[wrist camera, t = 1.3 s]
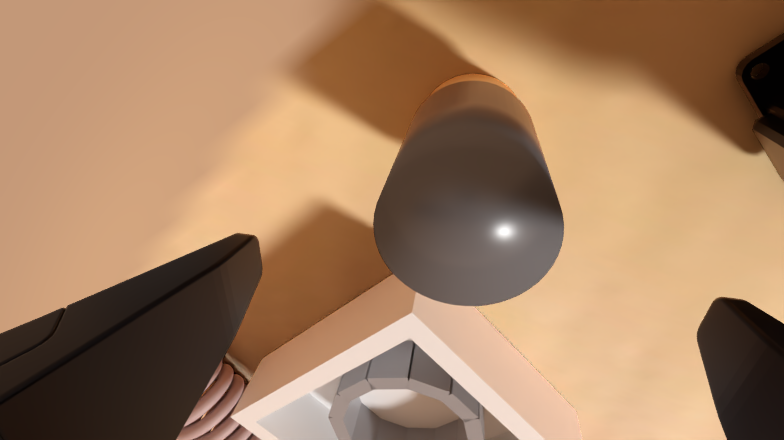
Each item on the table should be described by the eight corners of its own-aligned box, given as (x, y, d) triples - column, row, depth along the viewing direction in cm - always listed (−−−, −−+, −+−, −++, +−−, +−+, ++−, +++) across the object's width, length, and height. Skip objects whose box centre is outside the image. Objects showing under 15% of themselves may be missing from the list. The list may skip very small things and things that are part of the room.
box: (423, 254, 20) (412, 312, 17) (576, 411, 24) (592, 484, 21) (262, 358, 26) (230, 416, 23) (404, 471, 30) (394, 536, 26)
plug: (481, 41, 15) (483, 103, 9) (552, 133, 17) (603, 251, 10) (392, 119, 17) (336, 219, 11) (461, 196, 19) (451, 330, 12)
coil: (79, 378, 23) (285, 547, 30) (123, 362, 21) (336, 549, 27) (141, 315, 27) (312, 478, 33) (185, 297, 25) (359, 475, 31)
